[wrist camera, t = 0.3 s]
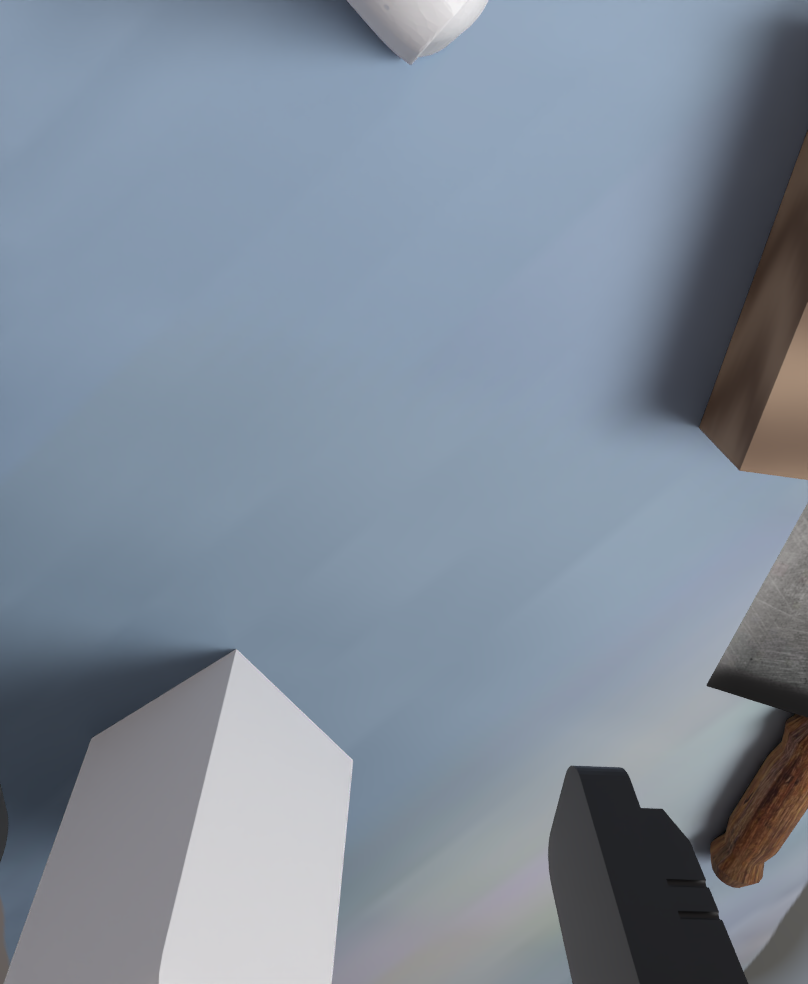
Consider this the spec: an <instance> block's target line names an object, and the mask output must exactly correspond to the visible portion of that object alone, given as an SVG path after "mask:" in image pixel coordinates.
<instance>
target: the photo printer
mask: <svg viewBox="0 0 808 984" xmlns="http://www.w3.org/2000/svg"><path fill="white" fill-rule="evenodd" d="M347 1H348V2H349V4H350V5H351V6H352V7H353V8H354V9H355V11H356V12H357V13H358V14H359V15H360V16H361V17H362V19H363V20H364V21H365V22H366V23H367V24H368V25H369V27H370V28H371V29H372V30H373V31H374V32H375V33H376V34H377V36H378V37H379V38H380V39H381V40H382V41H383V42H384V43H385V44H386V45H387V46H388V47H389V48H390V49H391V50H392V51H393V52H394V53H395V54H397V55H398V56H399V57H400V58H402V59H403V60H404V61H406V62H407V63H408V64H410V65H411V64H413V62H414V61H415V60H416V59H417V57H424V56H429V55H432V54H434V53H437V52H439V51H440V50H442V49H443V48H445V47H446V46H447V45H449V44H450V43H451V42H452V41H453V40H455V39H456V38H457V37H458V36H459V35H460V34H462V33H463V32H464V31H465V30H466V29H468V28H469V27H470V26H471V25H472V24H473V23H474V22H475V21H476V19H477V18H478V17H479V16H480V14H481V13H482V11H483V10H484V8H485V6H486V4H487V2H488V0H347Z"/></svg>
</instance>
